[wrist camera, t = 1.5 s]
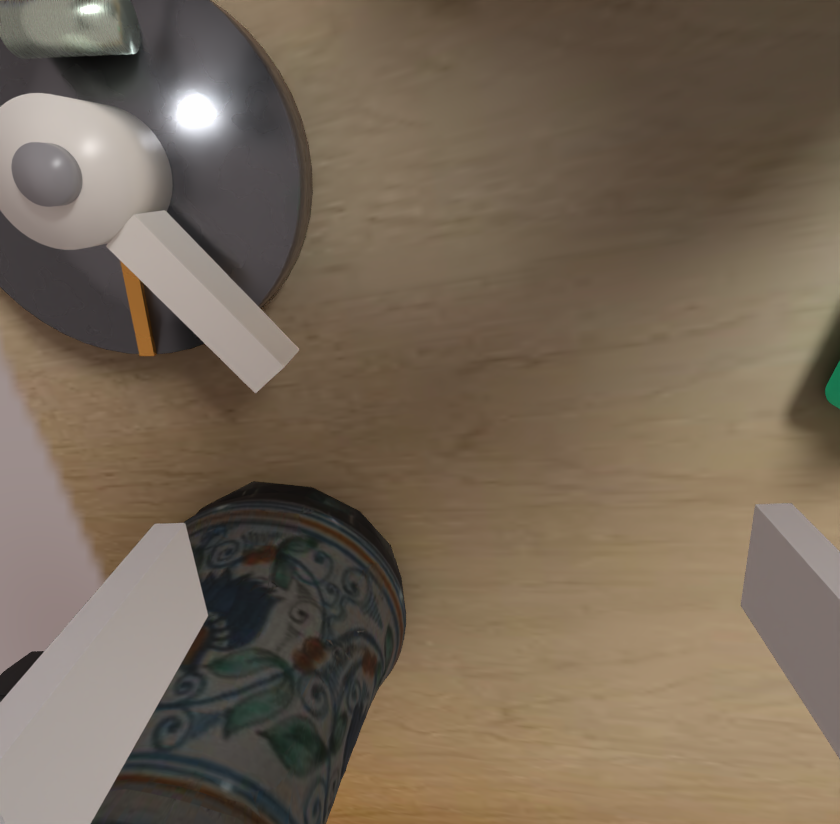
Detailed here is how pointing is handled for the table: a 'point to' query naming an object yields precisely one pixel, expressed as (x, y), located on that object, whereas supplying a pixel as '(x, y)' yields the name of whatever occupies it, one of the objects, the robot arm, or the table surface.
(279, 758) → the beer stein
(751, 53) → the table surface
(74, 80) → the base
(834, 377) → the camera mount
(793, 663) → the robot arm
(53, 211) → the knob
